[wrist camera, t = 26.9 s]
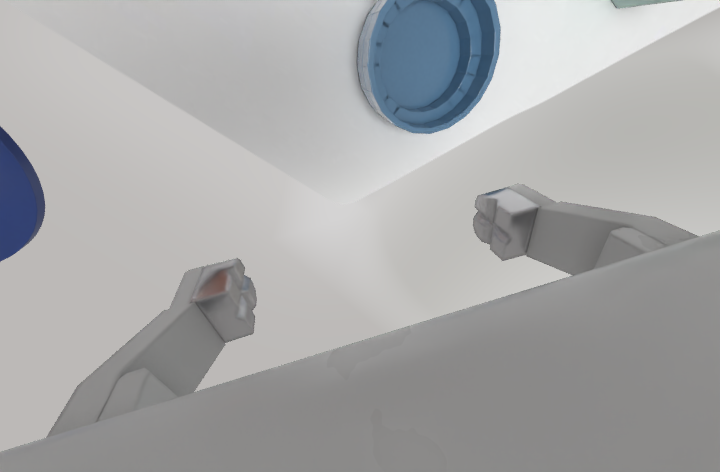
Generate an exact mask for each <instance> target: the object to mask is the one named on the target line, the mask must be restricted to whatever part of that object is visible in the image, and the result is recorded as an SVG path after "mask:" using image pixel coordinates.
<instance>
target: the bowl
mask: <svg viewBox="0 0 720 472" xmlns="http://www.w3.org/2000/svg"><path fill="white" fill-rule="evenodd" d="M499 46H500V23H499V18H498V13H497V8H496V4H495V2H494V0H378V1H377V2H376V4H375V5H374V7H373V8H372V10H371V11H370V13H369V14H368V16H367V18H366V21H365V24H364V27H363V30H362V33H361V36H360V39H359V46H358V61H357V65H358V66H357V67H358V72H359V77H360V82H361V87H362V90H363V91H364V93H365V95H366V97H367V99H368V101H369V103H370V105H371V106H372V107H373V108H374V109H375V110H376V111H377V112H378V113H379V114H380V115H381V116H382V117H383V118H384V119H386V120H388V121H389V122H391V123H392V124H394V125H395V126H397V127H400V128H402V129H404V130H407V131H409V132H411V133H424V134H430V133H434V132H437V131H441V130H444V129H447V128H449V127H451V126H452V125H454V124H455V123H457V122H458V121H460V120H461V119H463V118H464V117H465V116H466V115H467V114H468V113H469V112H470V111H471V110H472V109H473V108H474V106H475V105H476V104H477V103H478V102H479V101H480V100H481V98H482V96H483V94H484V92H485V91H486V89H487V87H488V85H489V83H490V81H491V80H492V77H493V73H494V70H495V66H496V63H497V60H498V56H499Z"/></svg>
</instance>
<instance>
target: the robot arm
mask: <svg viewBox="0 0 720 472" xmlns="http://www.w3.org/2000/svg"><path fill="white" fill-rule="evenodd" d="M475 208H476V209H477V210H478V212H477V213H476V215H475V216H474V219H473V227H474V230H475V233H476V235H477V237H478V238H479V239H480V240H481V241H482V242H484V243H487V244H490V250H492V251H493V252H494V253H495V254H496V255H497V256H498V257H499V258H500V259H501V260H502V261H504V260H508V259H512V258H515V257H519V256H523V255H527V256H528V257H530V258H532V259H535V260H538V261H540V262H542V263H544V264H547V265H549V266H552V267H554V268H556V269H559V270H561V271H564V272H566V273H568V274H571V275H573V276H570V277H567V278H563V279H560V280H557V281H554V282H551V283H547V284H544V285H541V286H538V287H534V288H531V289H528V290H524V291H521V292H518V293H515V294H511V295H508V296H505V297H502V298H498V299H495V300H492V301H489V302H485V303H482V304H479V305H476V306H472V307H469V308H466V309H463V310H459V311H456V312H453V313H449V314H447V315H443V316H440V317H437V318H433V319H430V320H427V321H424V322H420V323H417V324H414V325H411V326H407V327H404V328H401V329H398V330H394V331H391V332H388V333H385V334H382V335H378V336H375V337H372V338H369V339H365V340H362V341H359V342H356V343H352V344H349V345H346V346H343V347H339V348H336V349H333V350H330V351H326V352H323V353H320V354H317V355H314V356H310V357H307V358H304V359H300V360H297V361H294V362H291V363H287V364H284V365H281V366H278V367H275V368H271V369H268V370H265V371H262V372H258V373H255V374H252V375H248V376H245V377H242V378H239V379H236V380H233V381H229V382H226V383H223V384H219V385H216V386H213V387H210V388H207V389H203V390H200V391H197V392H194V391H195V390H196V388H197V386H198V385H199V384H200V382H201V380H202V379H203V378H204V376H205V374H206V373H207V371H208V370H209V368H210V367H211V365H212V364H213V362H214V361H215V359H216V358H217V356H218V355H219V353H220V352H221V350H222V349H223V347H224V346H225V343H226V342H229V341H232V340H235V339H238V338H242V337H245V336H248V335H251V334H253V333H254V323H255V315H254V314H253V312H252V310H253V309H254V308H255V306H256V301H257V298H256V291H255V288H254V285H253V282H252V280H251V278H249V277H247V276H245V275H244V271H245V267H244V265H243V264H242V262H241V260H240V259H238V258H236V259H232V260H228V261H223V262H219V263H216V264H211V265H207V266H203V267H199V268H195V269H192V270H188V271H187V272H185V274H184V276H183V279H182V281H181V283H180V285H179V288H178V290H177V292H176V295H175V297H174V299H173V301H172V304H171V306H170V308H169V309H168V310H164V311H163V312H161V313H160V314H159V315H158V316H157V317H156V318H155V319H153V320H152V321H151V322H150V323H149V324H148V325H147V326H145V327H144V328H143V329H142V330H141V331H140V332H139V333H137V334H136V335H135V336H134V337H133V338H132V339H131V340H129V341H128V342H127V343H126V344H125V345H124V346H123V347H121V348H120V349H119V350H118V351H117V352H116V353H115V354H114V355H112V356H111V357H110V358H109V359H108V360H107V361H105V362H104V363H103V364H102V365H101V366H100V367H99V368H97V369H96V370H95V371H94V372H93V373H92V374H91V375H89V376H88V377H87V378H86V379H85V380H84V381H83V382H81V383H80V384H79V385H78V386H77V388H76V389H75V391H74V393H73V394H72V396H71V398H70V400H69V401H68V403H67V404H66V406H65V408H64V409H63V411H62V412H61V414H60V416H59V417H58V419H57V421H56V422H55V424H54V426H53V427H52V429H51V431H50V432H49V434H48V436H47V437H46V438H44V439H41V440H38V441H34V442H31V443H28V444H24V445H21V446H18V447H15V448H12V449H8V450H5V451H2V452H0V472H720V230H719V231H716V232H712V233H709V234H706V235H703V236H697V235H694V234H692V233H690V232H688V231H686V230H683V229H681V228H679V227H676V226H674V225H672V224H670V223H667V222H665V221H663V220H661V219H658V218H656V217H652V216H646V215H639V214H633V213H627V212H621V211H615V210H609V209H603V208H597V207H591V206H585V205H579V204H572V203H567V202H558V203H557V202H555V201H553V200H551V199H549V198H547V197H546V196H543V195H542V194H540V193H538V192H536V191H535V190H533V189H531V188H529V187H527V186H525V185H523V184H515V185H512V186H509V187H506V188H503V189H499V190H496V191H492V192H489V193H486V194H482V195H478V196H477V198H476V200H475Z"/></svg>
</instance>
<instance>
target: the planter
mask: <svg viewBox="0 0 720 472" xmlns="http://www.w3.org/2000/svg"><path fill="white" fill-rule="evenodd" d="M673 1H681V0H612V2H613V3H614V5H615V6H616V7H617V8H626V7H634V6H642V5H650V4H657V3H665V2H673Z"/></svg>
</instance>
